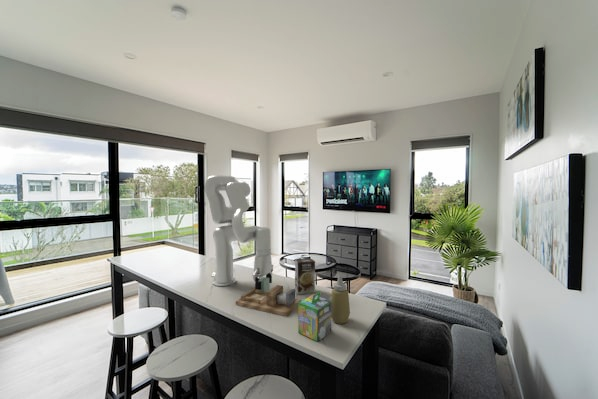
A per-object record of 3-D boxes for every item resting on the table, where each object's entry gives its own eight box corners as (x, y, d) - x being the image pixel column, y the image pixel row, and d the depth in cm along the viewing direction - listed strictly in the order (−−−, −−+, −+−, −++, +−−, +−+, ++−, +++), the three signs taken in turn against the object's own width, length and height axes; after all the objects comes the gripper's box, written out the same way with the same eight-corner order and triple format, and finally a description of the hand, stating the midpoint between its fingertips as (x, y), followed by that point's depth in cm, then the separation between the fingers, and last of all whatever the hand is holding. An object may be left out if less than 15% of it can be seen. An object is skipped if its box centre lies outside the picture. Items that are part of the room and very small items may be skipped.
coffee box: (297, 294, 126) (297, 262, 125) (294, 289, 132) (294, 259, 132) (315, 292, 128) (315, 261, 128) (311, 288, 135) (311, 257, 134)
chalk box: (312, 323, 99) (312, 285, 99) (332, 331, 93) (332, 291, 93) (297, 333, 92) (297, 292, 92) (317, 343, 86) (317, 299, 86)
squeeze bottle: (347, 315, 105) (347, 272, 105) (352, 325, 97) (352, 279, 97) (328, 315, 105) (328, 272, 104) (331, 325, 97) (331, 279, 96)
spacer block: (255, 293, 128) (255, 279, 127) (261, 289, 132) (261, 276, 132) (264, 295, 126) (264, 281, 125) (269, 291, 130) (269, 277, 130)
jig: (235, 304, 115) (235, 288, 115) (253, 293, 128) (253, 278, 127) (286, 316, 104) (286, 298, 104) (300, 302, 117) (300, 286, 117)
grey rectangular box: (267, 302, 112) (267, 290, 112) (274, 297, 118) (274, 285, 118) (289, 307, 108) (289, 294, 108) (295, 301, 114) (295, 289, 113)
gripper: (266, 248, 137) (266, 279, 138) (246, 255, 122) (247, 290, 122) (278, 249, 134) (278, 281, 135) (259, 257, 118) (260, 293, 119)
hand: (263, 285), depth 128 cm, fingers open, 9 cm apart
